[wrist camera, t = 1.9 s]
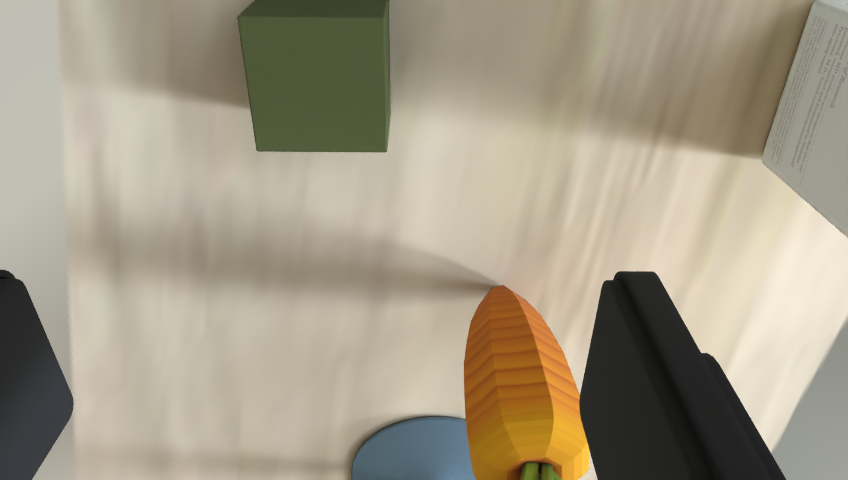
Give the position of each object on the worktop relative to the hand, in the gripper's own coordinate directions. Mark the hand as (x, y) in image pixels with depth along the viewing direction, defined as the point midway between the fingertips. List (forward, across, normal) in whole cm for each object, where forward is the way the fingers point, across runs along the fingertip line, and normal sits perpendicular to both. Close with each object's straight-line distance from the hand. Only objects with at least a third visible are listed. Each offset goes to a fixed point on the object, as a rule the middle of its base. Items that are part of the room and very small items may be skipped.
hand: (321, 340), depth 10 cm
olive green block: (+18, +2, 0) cm, 18 cm away
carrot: (+18, -6, +12) cm, 23 cm away
